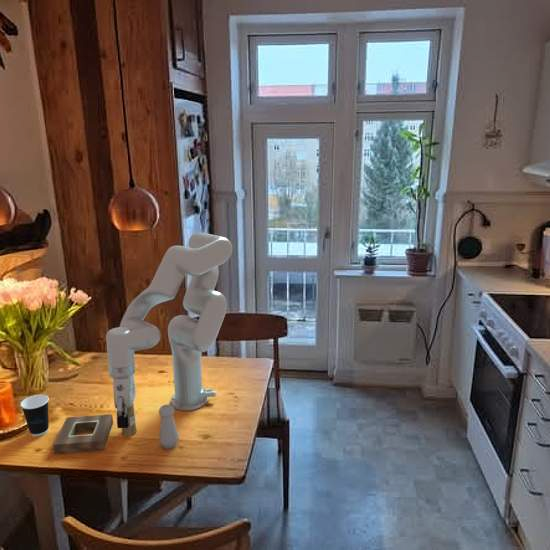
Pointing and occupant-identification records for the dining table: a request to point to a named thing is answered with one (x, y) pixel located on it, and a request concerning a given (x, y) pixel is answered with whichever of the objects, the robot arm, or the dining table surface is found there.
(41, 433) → the dixie cup
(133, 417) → the sprinkles bottle
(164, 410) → the salt shaker
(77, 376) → the dining table surface
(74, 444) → the socket block
